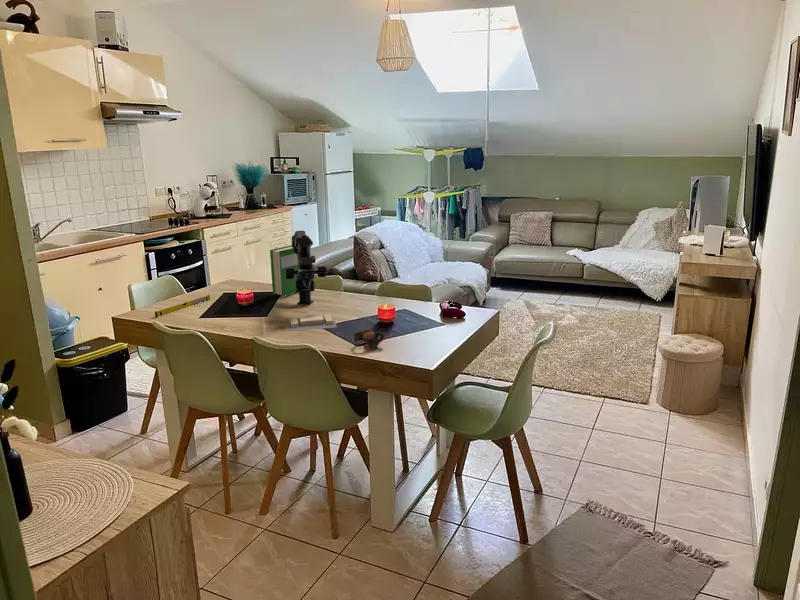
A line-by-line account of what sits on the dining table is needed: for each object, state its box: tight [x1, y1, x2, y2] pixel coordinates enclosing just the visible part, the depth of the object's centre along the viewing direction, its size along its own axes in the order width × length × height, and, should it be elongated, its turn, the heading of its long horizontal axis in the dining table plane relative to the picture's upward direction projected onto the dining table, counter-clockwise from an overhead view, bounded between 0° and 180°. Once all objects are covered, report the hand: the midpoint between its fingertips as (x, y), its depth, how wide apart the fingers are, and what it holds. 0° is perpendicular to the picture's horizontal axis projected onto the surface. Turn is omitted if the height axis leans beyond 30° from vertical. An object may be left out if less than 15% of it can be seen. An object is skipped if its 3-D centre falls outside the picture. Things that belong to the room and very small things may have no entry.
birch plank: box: [298, 314, 324, 326], centre depth 265 cm, size 2×10×8 cm
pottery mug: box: [353, 328, 385, 351], centre depth 238 cm, size 12×9×8 cm
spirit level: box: [154, 294, 211, 318], centre depth 294 cm, size 33×1×3 cm, turn 152°
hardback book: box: [269, 244, 299, 297], centre depth 319 cm, size 18×7×24 cm, turn 147°
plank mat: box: [287, 314, 338, 332], centre depth 265 cm, size 19×20×3 cm
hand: (307, 288), depth 275 cm, fingers closed
